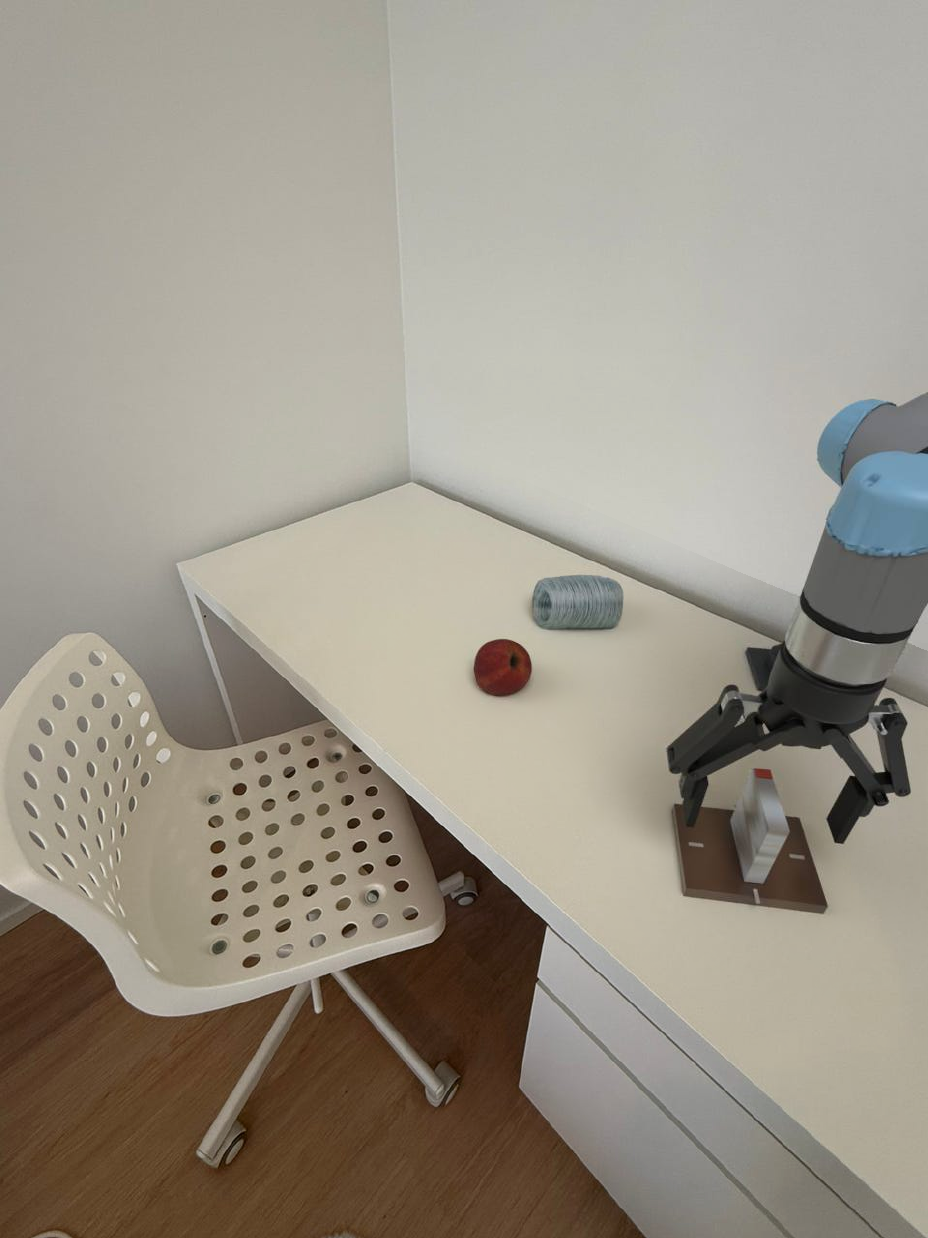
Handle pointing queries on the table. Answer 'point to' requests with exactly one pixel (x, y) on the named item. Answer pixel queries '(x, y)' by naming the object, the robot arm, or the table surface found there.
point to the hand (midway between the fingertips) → (760, 823)
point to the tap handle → (758, 825)
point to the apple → (502, 667)
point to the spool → (577, 602)
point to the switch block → (762, 664)
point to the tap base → (718, 870)
